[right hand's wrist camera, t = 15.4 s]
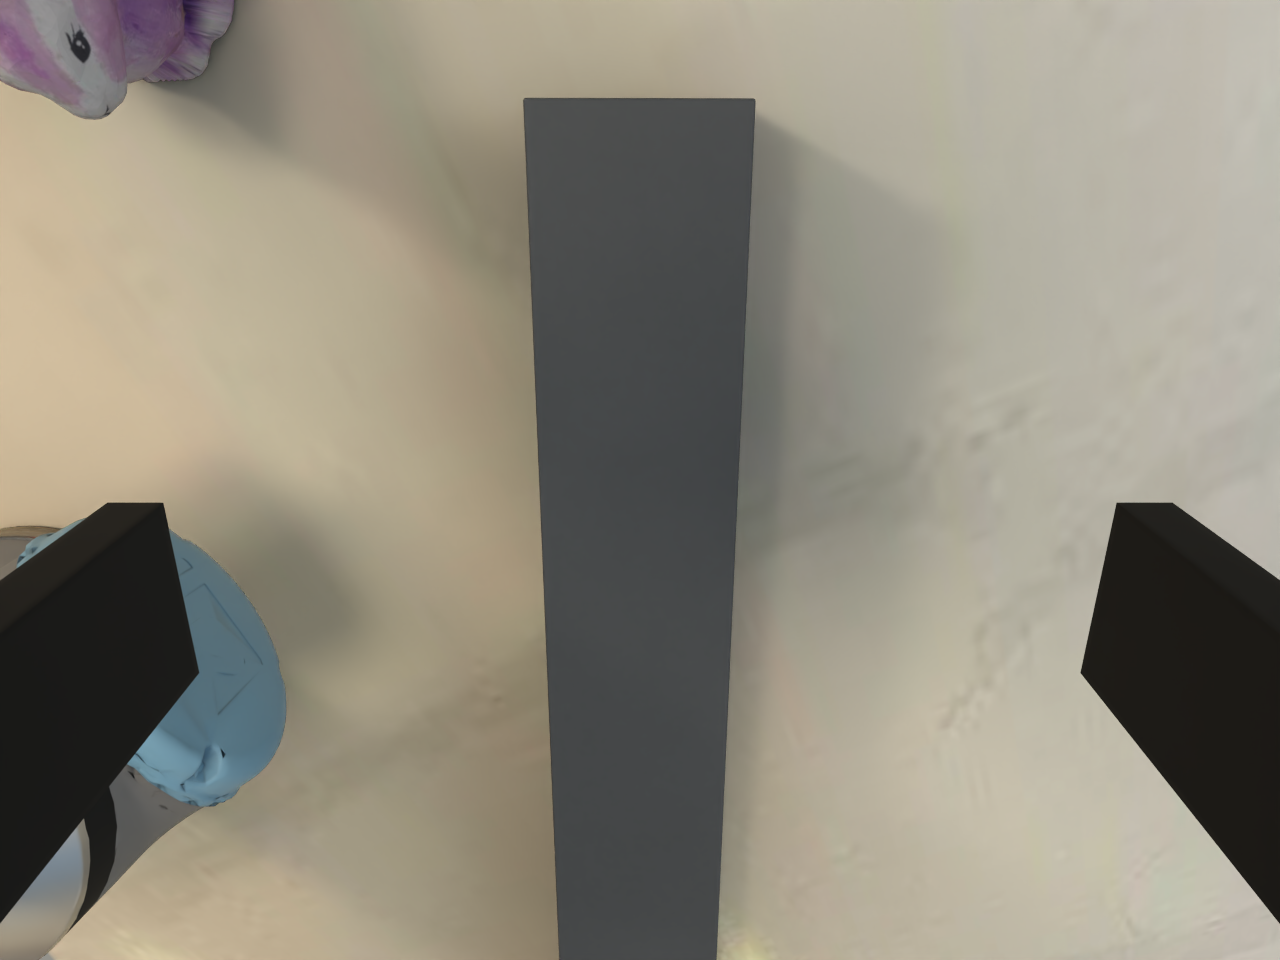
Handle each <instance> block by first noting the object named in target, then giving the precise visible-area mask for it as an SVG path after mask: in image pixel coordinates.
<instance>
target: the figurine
mask: <svg viewBox="0 0 1280 960" xmlns="http://www.w3.org/2000/svg"><path fill="white" fill-rule="evenodd" d="M233 9H234V0H0V80H1V81H2V82H4V83H5V84H7V85H9V86H12V87H14V88H16V89H19V90H22V91H27V92H32V93H37V94H40V95H43V96H45V97H47V98H49V99H51V100H52V101H54V102H55V103H57V104H58V105H60V106H61V107H63V108H64V109H66V110H67V111H69V112H70V113H72V114H73V115H75V116H78V117H81V118H84V119H94V120H95V119H102V118H104V117H106V116H108V115H109V114H110V113H111V112H112V111H113V110H114V109H115V108H116V107H117V106H119V105H120V104H121V103H122V101H123V100H124V98H125V96H126V93H127V83H132V82H135V81H138V80H142V79H144V80H145V81H146V82H158V81H160V80H162V81H163V82H164V81H165V80H168V81H171V80H174V81H176V80H177V79H178V80H180V81H181V80H183V79H184V80H188V79H193V78H195V77H196V76H197V77H198V76H199V75H201V74H202V73H203V72H204V70H205V69H206V67H207V66H208V59H209V56H210V50H211V45H212V43H213V42H214V41H215V40H216V39H218V38H220V37H222V36H223V35H224V34H225V33H226V31H227V29H228V27H229V25H230V23H231V22H232V14H233Z"/></svg>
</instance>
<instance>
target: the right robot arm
mask: <svg viewBox="0 0 1280 960" xmlns="http://www.w3.org/2000/svg"><path fill="white" fill-rule="evenodd" d="M198 674H199V669H198V664H197V659H196V654H195V650H194V645H193V640H192V636H191V631H190V626H189V622H188V617H187V612H186V607H185V603H184V598H183V593H182V589H181V584H180V579H179V575H178V570H177V565H176V561H175V556H174V551H173V546H172V542H171V537H170V532H169V528H168V523H167V518H166V514H165V509H164V504H163V503H107V504H105V505H104V506H102V507H101V508H100V509H98V510H97V511H95V512H94V513H93V514H91V515H90V516H89V517H87V518H86V519H84V520H83V521H82V522H80V523H79V524H77V525H76V526H75V527H73V528H72V529H71V530H69V531H68V532H66V533H65V534H64V535H62V536H61V537H59V538H58V539H57V540H55V541H54V542H53V543H51V544H50V545H48V546H47V547H46V548H44V549H43V550H41V551H40V552H39V553H37V554H36V555H35V556H33V557H32V558H30V559H29V560H28V561H26V562H25V563H23V564H22V565H21V566H19V567H18V568H16V569H15V570H14V571H12V572H11V573H10V574H8V575H7V576H5V577H4V578H3V579H1V580H0V923H1V922H2V921H3V919H4V918H5V917H6V916H7V914H8V913H9V912H10V911H11V909H12V908H13V907H14V906H15V904H16V903H17V902H18V901H19V899H20V898H21V897H22V896H23V894H24V893H25V892H26V891H27V889H28V888H29V887H30V885H31V884H32V883H33V882H34V880H35V879H36V878H37V877H38V875H39V874H40V873H41V872H42V870H43V869H44V868H45V867H46V865H47V864H48V863H49V862H50V860H51V859H52V858H53V857H54V855H55V854H56V853H57V852H58V850H59V849H60V848H61V846H62V845H63V844H64V843H65V841H66V840H67V839H68V838H69V836H70V835H71V834H72V833H73V831H74V830H75V829H76V828H77V826H78V825H79V824H80V823H81V821H82V820H83V819H84V818H85V816H86V815H87V814H88V812H89V811H90V810H91V809H92V807H93V806H94V805H95V804H96V802H97V801H98V800H99V799H100V797H101V796H102V795H103V794H104V792H105V791H106V790H107V789H108V787H109V786H110V785H111V784H112V782H113V781H114V780H115V779H116V777H117V776H118V775H119V773H120V772H121V771H122V770H123V768H124V767H125V766H126V765H127V763H128V762H129V761H130V760H131V758H132V757H133V756H134V755H135V753H136V752H137V751H138V750H139V748H140V747H141V746H142V745H143V743H144V742H145V741H146V740H147V738H148V737H149V736H150V734H151V733H152V732H153V731H154V729H155V728H156V727H157V726H158V724H159V723H160V722H161V721H162V719H163V718H164V717H165V716H166V714H167V713H168V712H169V711H170V709H171V708H172V707H173V706H174V704H175V703H176V702H177V700H178V699H179V698H180V697H181V695H182V694H183V693H184V692H185V690H186V689H187V688H188V687H189V685H190V684H191V683H192V682H193V680H194V679H195V678H196V677H197V675H198ZM1081 674H1082V675H1083V677H1084V678H1085V679H1086V680H1087V682H1088V683H1089V684H1090V685H1091V687H1092V688H1093V689H1094V690H1095V692H1096V693H1097V694H1098V695H1099V697H1100V698H1101V699H1102V700H1103V702H1104V703H1105V704H1106V706H1107V707H1108V708H1109V709H1110V711H1111V712H1112V713H1113V714H1114V716H1115V717H1116V718H1117V719H1118V721H1119V722H1120V723H1121V724H1122V726H1123V727H1124V728H1125V729H1126V731H1127V732H1128V733H1129V734H1130V736H1131V737H1132V738H1133V740H1134V741H1135V742H1136V743H1137V745H1138V746H1139V747H1140V748H1141V750H1142V751H1143V752H1144V753H1145V755H1146V756H1147V757H1148V758H1149V760H1150V761H1151V762H1152V763H1153V765H1154V766H1155V767H1156V768H1157V770H1158V771H1159V772H1160V773H1161V775H1162V776H1163V777H1164V779H1165V780H1166V781H1167V782H1168V784H1169V785H1170V786H1171V787H1172V789H1173V790H1174V791H1175V792H1176V794H1177V795H1178V796H1179V797H1180V799H1181V800H1182V801H1183V802H1184V804H1185V805H1186V806H1187V807H1188V809H1189V810H1190V811H1191V812H1192V814H1193V815H1194V816H1195V818H1196V819H1197V820H1198V821H1199V823H1200V824H1201V825H1202V826H1203V828H1204V829H1205V830H1206V831H1207V833H1208V834H1209V835H1210V836H1211V838H1212V839H1213V840H1214V841H1215V843H1216V844H1217V845H1218V846H1219V848H1220V849H1221V850H1222V852H1223V853H1224V854H1225V855H1226V857H1227V858H1228V859H1229V860H1230V862H1231V863H1232V864H1233V865H1234V867H1235V868H1236V869H1237V870H1238V872H1239V873H1240V874H1241V875H1242V877H1243V878H1244V879H1245V880H1246V882H1247V883H1248V884H1249V885H1250V887H1251V888H1252V889H1253V891H1254V892H1255V893H1256V894H1257V896H1258V897H1259V898H1260V899H1261V901H1262V902H1263V903H1264V904H1265V906H1266V907H1267V908H1268V909H1269V911H1270V912H1271V913H1272V914H1273V916H1274V917H1275V918H1276V919H1277V921H1278V922H1279V923H1280V580H1279V579H1277V578H1276V577H1275V576H1273V575H1272V574H1270V573H1269V572H1268V571H1266V570H1265V569H1264V568H1262V567H1261V566H1259V565H1258V564H1257V563H1255V562H1254V561H1252V560H1251V559H1250V558H1248V557H1247V556H1245V555H1244V554H1243V553H1241V552H1240V551H1239V550H1237V549H1236V548H1234V547H1233V546H1232V545H1230V544H1229V543H1227V542H1226V541H1225V540H1223V539H1222V538H1221V537H1219V536H1218V535H1216V534H1215V533H1214V532H1212V531H1211V530H1209V529H1208V528H1207V527H1205V526H1204V525H1203V524H1201V523H1200V522H1198V521H1197V520H1196V519H1194V518H1193V517H1191V516H1190V515H1189V514H1187V513H1186V512H1185V511H1183V510H1182V509H1180V508H1179V507H1178V506H1176V505H1175V504H1173V503H1117V504H1116V509H1115V514H1114V518H1113V523H1112V528H1111V532H1110V537H1109V542H1108V546H1107V551H1106V556H1105V561H1104V565H1103V570H1102V575H1101V579H1100V584H1099V589H1098V593H1097V598H1096V603H1095V607H1094V612H1093V617H1092V622H1091V626H1090V631H1089V636H1088V640H1087V645H1086V650H1085V654H1084V659H1083V664H1082V669H1081Z"/></svg>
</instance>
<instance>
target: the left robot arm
mask: <svg viewBox="0 0 1280 960" xmlns="http://www.w3.org/2000/svg"><path fill="white" fill-rule="evenodd" d="M84 519H86V518H84ZM84 519H81V520H78V521H76V522H74V523H72V524H70V525H68V526H67V527H65V528H63V529H61V530H60V529H54V528H47V527H34V526H26V527H11V528H4V529H0V580H1V579H3V578H4V577H5V576H7V575H8V574H10V573H11V572H12V571H14V570H15V569H16V568H18V567H19V566H21V565H22V564H23V563H25V562H26V561H28V560H29V559H30V558H32V557H33V556H35V555H36V554H37V553H39V552H40V551H41V550H43V549H44V548H46V547H47V546H48V545H50V544H51V543H53V542H54V541H55V540H57V539H58V538H59V537H61V536H62V535H64V534H65V533H66V532H68V531H69V530H71V529H72V528H73V527H75V526H76V525H77V524H79V523H80V522H82V521H83V520H84ZM169 532H170V537H171V542H172V546H173V551H174V556H175V561H176V565H177V570H178V575H179V579H180V584H181V589H182V593H183V598H184V603H185V607H186V612H187V617H188V622H189V626H190V631H191V636H192V640H193V645H194V650H195V654H196V659H197V664H198V669H199V674H198V675H197V677H196V678H195V679H194V680H193V682H192V683H191V684H190V685H189V687H188V688H187V689H186V690H185V692H184V693H183V694H182V695H181V697H180V698H179V699H178V700H177V702H176V703H175V704H174V706H173V707H172V708H171V709H170V711H169V712H168V713H167V714H166V716H165V717H164V718H163V719H162V721H161V722H160V723H159V724H158V726H157V727H156V728H155V729H154V731H153V732H152V733H151V734H150V736H149V737H148V738H147V740H146V741H145V742H144V743H143V745H142V746H141V747H140V748H139V750H138V751H137V752H136V753H135V755H134V756H133V757H132V758H131V760H130V761H129V762H128V763H127V765H126V766H125V767H124V768H123V770H122V771H121V772H120V773H119V775H118V776H117V777H116V779H115V780H114V781H113V782H112V784H111V785H110V786H109V787H108V789H107V790H106V791H105V792H104V794H103V795H102V796H101V797H100V799H99V800H98V801H97V802H96V804H95V805H94V806H93V807H92V809H91V810H90V811H89V812H88V814H87V815H86V816H85V818H84V819H83V820H82V821H81V823H80V824H79V825H78V826H77V828H76V829H75V830H74V831H73V833H72V834H71V835H70V836H69V838H68V839H67V840H66V841H65V843H64V844H63V845H62V846H61V848H60V849H59V850H58V852H57V853H56V854H55V855H54V857H53V858H52V859H51V860H50V862H49V863H48V864H47V865H46V867H45V868H44V869H43V870H42V872H41V873H40V874H39V875H38V877H37V878H36V879H35V880H34V882H33V883H32V884H31V885H30V887H29V888H28V889H27V891H26V892H25V893H24V894H23V896H22V897H21V898H20V899H19V901H18V902H17V903H16V904H15V906H14V907H13V908H12V909H11V911H10V912H9V913H8V914H7V916H6V917H5V918H4V919H3V921H2V922H1V923H0V960H39V959H40V958H42V957H43V956H45V955H46V954H47V953H48V952H49V951H50V950H51V949H52V948H53V947H54V946H55V945H56V944H57V943H58V942H59V941H60V940H61V939H62V938H63V937H64V936H65V935H66V934H67V933H68V932H69V930H70V929H71V928H72V927H73V926H74V925H75V924H76V923H77V922H78V921H79V920H80V919H81V918H82V917H83V916H84V915H85V914H86V913H87V912H88V911H89V909H90V908H91V907H92V906H93V905H94V904H95V903H96V902H97V901H98V900H99V899H100V898H101V897H102V896H103V895H104V894H105V893H106V892H107V891H108V890H109V889H110V888H111V887H112V886H113V885H114V884H115V883H116V882H117V880H118V879H119V878H120V877H121V876H122V875H123V874H124V873H125V872H126V871H127V870H128V869H129V868H130V867H131V866H132V864H133V863H134V862H135V861H136V860H137V859H138V858H139V857H140V856H141V855H142V854H143V853H144V852H145V851H146V850H147V849H148V848H149V847H150V846H151V845H152V844H153V843H154V842H155V841H157V840H158V839H159V838H160V837H161V836H162V835H164V834H165V833H166V832H167V831H169V830H170V829H171V828H173V827H174V826H175V825H176V824H178V823H179V822H181V821H182V820H184V819H185V818H186V817H188V816H190V815H191V814H193V813H194V812H196V811H198V810H199V809H201V808H203V807H208V806H216V805H217V804H218V803H220V802H225V800H228V799H230V798H232V797H233V796H234V795H235V794H236V793H237V791H238V790H239V788H240V786H242V785H243V784H245V783H246V782H248V781H249V780H251V779H252V778H254V777H255V776H256V775H258V774H259V773H260V772H261V771H262V770H263V769H264V768H265V767H266V766H267V764H268V763H269V762H270V761H271V759H272V758H273V756H274V754H275V753H276V750H277V748H278V746H279V744H280V741H281V738H282V735H283V731H284V726H285V720H286V692H285V685H284V681H283V679H282V676H281V673H280V670H279V659H278V656H277V653H276V650H275V648H274V645H273V643H272V641H271V638H270V636H269V634H268V632H267V630H266V628H265V626H264V624H263V622H262V620H261V618H260V617H259V615H258V613H257V612H256V610H255V608H254V607H253V605H252V604H251V602H250V601H249V599H248V598H247V597H246V595H245V594H244V593H243V591H242V590H241V589H240V587H239V586H238V585H237V584H236V582H235V581H234V580H233V579H232V578H231V577H230V576H229V574H228V573H227V572H226V571H225V570H224V569H223V568H222V567H221V566H220V565H219V564H218V563H217V562H216V561H215V560H213V559H212V558H211V557H210V556H209V555H208V554H207V553H205V552H204V551H203V550H202V549H200V548H199V547H198V546H196V545H195V544H194V543H192V542H191V541H188V540H184V539H182V538H180V537H179V536H178V535H177V534H175V533H174V532H173V531H171V530H170V529H169Z"/></svg>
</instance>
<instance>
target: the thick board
mask: <svg viewBox="0 0 1280 960" xmlns="http://www.w3.org/2000/svg"><path fill="white" fill-rule="evenodd" d="M523 103H524V127H525V151H526V175H527V199H528V223H529V247H530V271H531V294H532V318H533V342H534V366H535V390H536V414H537V438H538V462H539V486H540V509H541V533H542V557H543V581H544V605H545V629H546V653H547V677H548V700H549V724H550V748H551V772H552V796H553V820H554V844H555V868H556V892H557V915H558V939H559V960H716V957H717V935H718V913H719V891H720V869H721V847H722V825H723V803H724V781H725V759H726V737H727V715H728V693H729V671H730V649H731V628H732V606H733V584H734V562H735V540H736V518H737V496H738V474H739V452H740V430H741V408H742V386H743V364H744V342H745V320H746V298H747V276H748V254H749V232H750V210H751V188H752V166H753V145H754V123H755V99H740V98H525V99H524V100H523Z"/></svg>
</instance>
